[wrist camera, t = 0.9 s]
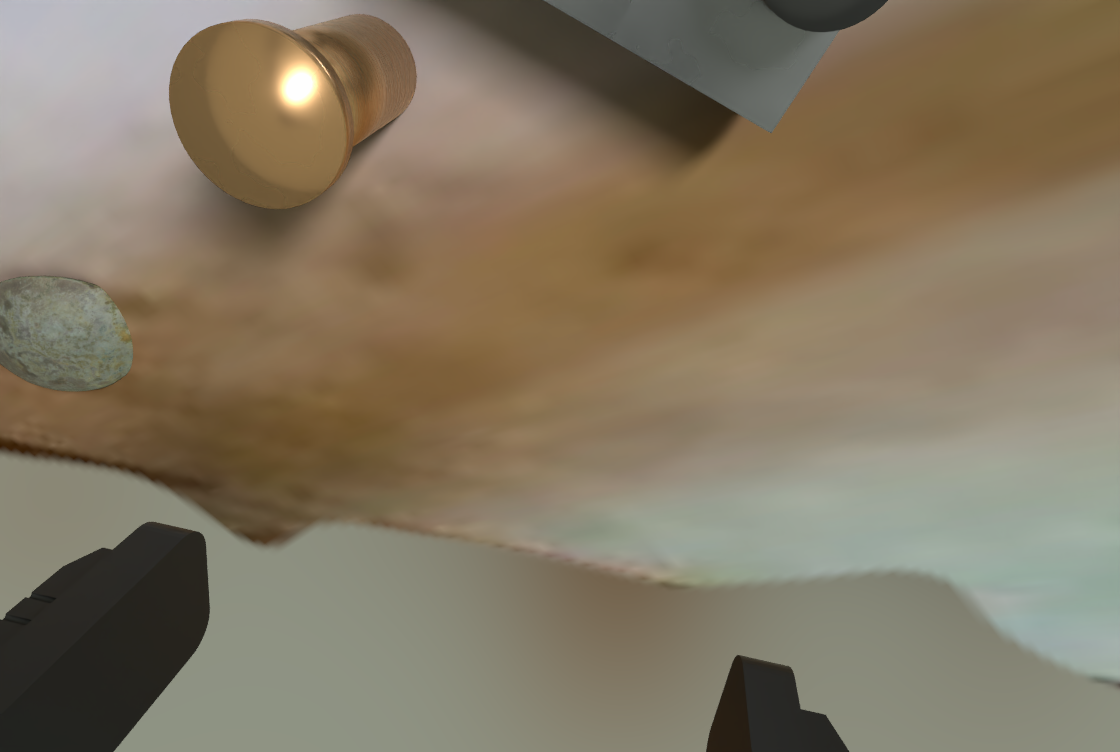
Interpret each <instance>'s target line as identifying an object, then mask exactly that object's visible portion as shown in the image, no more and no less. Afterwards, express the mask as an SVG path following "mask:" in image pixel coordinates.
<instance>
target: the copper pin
mask: <svg viewBox="0 0 1120 752" xmlns="http://www.w3.org/2000/svg"><path fill="white" fill-rule="evenodd" d="M416 77H417V76H416V67H415V62H414V59H413V56H412V53H411V51H410V49H409V47H408V45H407V43H406V42H405V40H404V39H403V38H402V36H401V35H400V34H399V33H398V32H397V31H396V30H395V29H394V28H393V27H392V26H390V25H389V24H388V23H386V22H384V21H383V20H381V19H379V18H376V17H373V16H370V15H364V14H355V15H349V16H345V17H341V18H338V19H334V20H330V21H326V22H322V23H319V24H315V25H311V26H307V27H304V28H300V29H296V30H290V29H288V28H285V27H283V26H281V25H278V24H275V23H272V22H269V21H263V20H258V19H243V20H235V21H230V22H225V23H221V24H217V25H214V26H210V27H208V28H206V29H204V30H202V31H200V32H199V33H197V34H196V35H195V36H193V37H192V38H191V39H190V40H189V41H188V42H187V43H186V44H185V45H184V47H183V48H182V50H181V51H180V53H179V54H178V56H177V58H176V61H175V63H174V65H173V69H172V73H171V77H170V85H169V101H170V109H171V114H172V118H173V122H174V125H175V128H176V131H177V133H178V136H179V138H180V140H181V142H182V144H183V146H184V148H185V150H186V151H187V153H188V154H189V156H190V158H191V159H192V160H193V162H194V163H195V164H196V166H197V167H198V168H199V169H200V170H201V171H202V172H203V174H204V175H205V176H206V177H207V178H208V179H209V180H211V181H212V182H213V183H214V184H215V185H216V186H218V187H219V188H220V189H222V190H223V191H225V192H226V193H228V194H229V195H231V196H233V197H235V198H236V199H239V200H241V201H243V202H245V203H248V204H251V205H254V206H257V207H263V208H268V209H287V208H293V207H297V206H300V205H303V204H305V203H308V202H309V201H311V200H313V199H315V198H316V197H318V196H319V195H320V194H322V193H323V192H324V191H326V190H327V189H328V188H329V187H330V186H332V185H333V184H334V183H335V182H336V181H337V180H338V178H339V177H340V176H341V174H342V173H343V171H344V170H345V168H346V166H347V164H348V161H349V159H350V156H351V152H352V148H353V146H355V145H356V144H358V143H359V142H361V141H362V140H364V139H365V138H367V137H368V136H370V135H371V134H373V133H374V132H376V131H377V130H379V129H380V128H381V127H383V126H384V125H386V124H387V123H389V122H390V121H392V120H393V119H395V118H396V117H398V116H399V115H400V114H401V113H403V112H404V111H405V109H406V108H407V107H408V105H409V104H410V102H411V100H412V98H413V95H414V92H415V88H416Z"/></svg>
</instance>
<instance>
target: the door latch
mask: <svg viewBox="0 0 1120 752" xmlns="http://www.w3.org/2000/svg"><path fill="white" fill-rule="evenodd" d="M544 1H545V2H547V3H549V4H551V5H552V6H554V7H556V8H557V9H559V10H561V11H563V12H564V13H566V14H568V15H569V16H571V17H573V18H575V19H576V20H578V21H580V22H581V23H583V24H585V25H587V26H588V27H590V28H592V29H593V30H595V31H597V32H599V33H600V34H602V35H604V36H605V37H607V38H609V39H611V40H612V41H614V42H616V43H617V44H619V45H621V46H623V47H624V48H626V49H628V50H629V51H631V52H633V53H635V54H636V55H638V56H640V57H641V58H643V59H645V60H647V61H648V62H650V63H652V64H653V65H655V66H657V67H659V68H660V69H662V70H664V71H665V72H667V73H669V74H670V75H672V76H674V77H676V78H677V79H679V80H681V81H682V82H684V83H686V84H688V85H689V86H691V87H693V88H694V89H696V90H698V91H700V92H701V93H703V94H705V95H706V96H708V97H710V98H712V99H713V100H715V101H717V102H718V103H720V104H722V105H724V106H725V107H727V108H729V109H730V110H732V111H734V112H736V113H737V114H739V115H741V116H742V117H744V118H746V119H748V120H749V121H751V122H753V123H754V124H756V125H758V126H760V127H761V128H763V129H765V130H766V131H768V132H770V133H772V131H773V130H774V128H775V127H776V125H777V124H778V122H779V121H780V119H781V118H782V116H783V115H784V113H785V112H786V110H787V109H788V107H789V106H790V104H791V103H792V101H793V100H794V98H795V97H796V95H797V94H798V92H799V91H800V89H801V88H802V86H803V85H804V83H805V82H806V80H807V79H808V77H809V75H810V74H811V72H812V71H813V69H814V68H815V66H816V65H817V63H818V62H819V60H820V59H821V57H822V56H823V54H824V53H825V51H826V50H827V48H828V47H829V45H830V44H831V42H832V41H833V39H834V38H835V36H836V35H837V33H838V32H839V30H841V29H845V28H848V27H850V26H853V25H855V24H857V23H859V22H861V21H863V20H865V19H866V18H868V17H869V16H871V15H872V14H874V13H875V12H876V11H877V10H878V9H880V8H881V7H882V6H883V5H884V4H885V3H886V2H887V1H888V0H544Z"/></svg>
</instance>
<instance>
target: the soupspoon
mask: <svg viewBox="0 0 1120 752" xmlns="http://www.w3.org/2000/svg"><path fill="white" fill-rule="evenodd" d="M132 359H133V346H132V339H131V335H130V332H129V330H128V327H127V325H126V322H125V320H124V318H123V316H122V315H121V313H120V311H119V310H118V308H117V307H116V305H115V304H114V302H113V301H112V300H111V298H110V297H109V296H108V295H107V294H106V293H105V292H104V291H103V289H101V288H100V287H99V286H97V285H94V284H91V283H88V282H84V281H80V280H76V279H71V278H64V277H54V276H28V277H18V278H13V279H9V280H5V281H3V282H0V364H1V365H3V366H4V367H5V368H6V369H8V370H9V371H11V372H12V373H14V374H15V375H17V376H19V377H21V378H22V379H24V380H26V381H28V382H30V383H33V384H35V385H39V386H42V387H45V388H49V389H53V390H61V391H87V390H94V389H100V388H103V387H107V386H109V385H111V384H113V383H114V382H116V381H118V380H119V379H121V378H122V377H123V376H125V375H126V374H127V373H128V372H129V370H130V368H131V364H132Z"/></svg>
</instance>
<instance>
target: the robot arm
mask: <svg viewBox="0 0 1120 752" xmlns="http://www.w3.org/2000/svg"><path fill="white" fill-rule="evenodd" d="M209 613H210V605H209V589H208V573H207V555H206V542H205V539H204V536H203V535H202V534H201V533H200V532H196V531H192V530H187V529H183V528H179V527H174V526H170V525H165V524H160V523H156V522H147V523H145V524H143V525H141V526H140V527H139V528H137V529H136V530H135V531H134V532H133V533H132V534H131V535H129V536H128V537H127V538H126V539H125V540H123V541H122V542H121V543H120V544H119V545H118V546H117V547H116V548H114V549H113V550H111V549H106V548H101V549H99V550H97V551H95V552H93V553H90V554H88V555H86V556H84V557H82V558H80V559H78V560H76V561H74V562H72V563H69V564H67V565H65V566H63V567H62V568H61V569H59V571H57V572H56V573H55V574H53V575H52V576H51V577H50V578H49V579H47V580H46V581H45V582H44V583H42V584H41V585H40V586H39V587H38V588H36V589H35V590H34V591H33V592H32V595H31V597H30V598H24V599H23V600H22V601H21V602H19V603H18V604H17V605H16V606H15V607H13V608H12V609H11V610H10V611H9V612H7V613H6V616H5V618H4V619H3V620H0V752H113V751H114V750H115V749H116V748H117V747H118V746H119V744H120V743H121V742H122V741H123V739H124V738H125V737H126V736H127V735H128V733H129V732H130V731H131V730H132V728H133V727H134V726H135V725H136V724H137V722H138V721H139V720H140V719H141V717H142V716H143V715H144V714H145V713H146V711H147V710H148V709H149V708H150V706H151V705H152V704H153V703H154V701H155V700H156V699H157V697H159V695H160V694H161V693H162V692H163V690H164V689H165V688H166V687H167V686H168V684H169V683H170V682H171V681H172V679H173V678H174V677H175V676H176V675H177V673H178V672H179V671H180V670H181V668H182V667H183V666H184V665H185V664H186V662H187V661H188V660H189V659H190V657H191V656H192V655H193V654H194V652H195V651H196V649H197V648H198V646H199V644H200V642H201V640H202V638H203V636H204V633H205V631H206V628H207V625H208V620H209ZM706 752H849V750H848V749H847V747H846V746H845V744H844V743H843V741H842V740H841V738H840V737H839V735H838V734H837V732H836V730H835V729H834V727H833V726H832V724H831V723H830V721H829V720H828V718H827V716H826V715H824V714H819V713H815V712H810V711H806V710H801V709H800V704H799V698H798V693H797V688H796V682H795V677H794V673H793V671H792V669H791V667H789V666H785V665H781V664H776V663H771V662H767V661H763V660H758V659H753V658H749V657H745V656H740V655H737V656H736V657H735V659H734V661H733V663H732V666H731V669H730V672H729V675H728V678H727V681H726V684H725V687H724V690H723V693H722V696H721V699H720V702H719V705H718V708H717V711H716V714H715V717H714V720H713V723H712V726H711V730H710V733H709V738H708V743H707V749H706Z"/></svg>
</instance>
